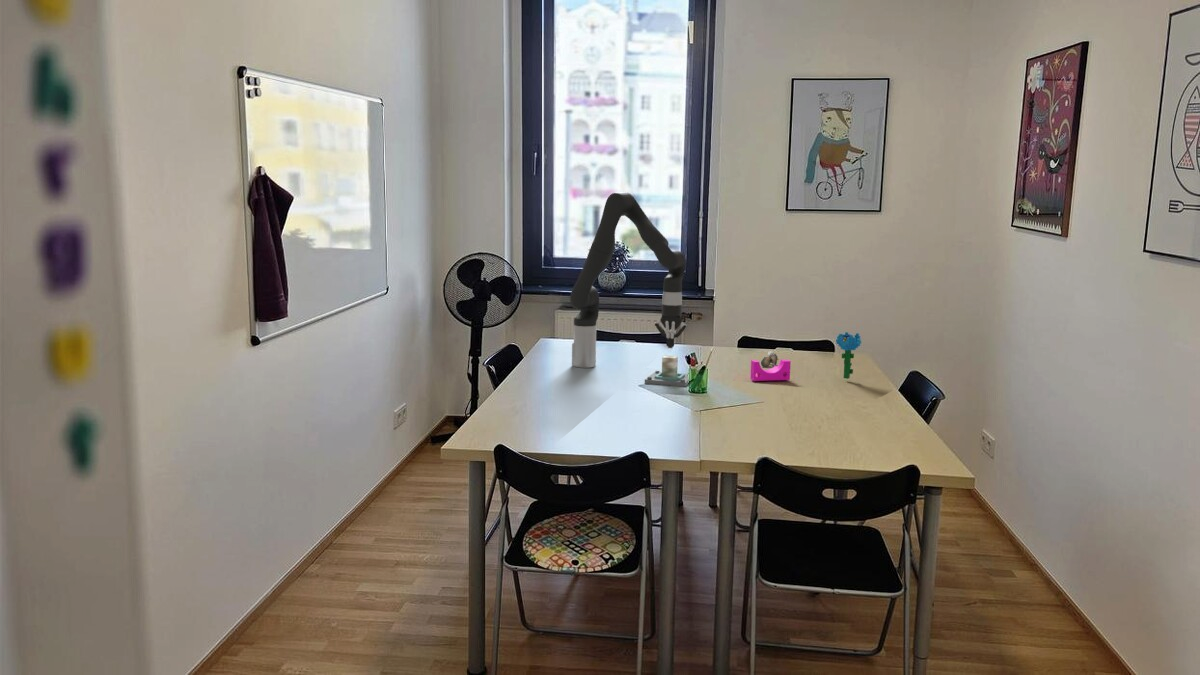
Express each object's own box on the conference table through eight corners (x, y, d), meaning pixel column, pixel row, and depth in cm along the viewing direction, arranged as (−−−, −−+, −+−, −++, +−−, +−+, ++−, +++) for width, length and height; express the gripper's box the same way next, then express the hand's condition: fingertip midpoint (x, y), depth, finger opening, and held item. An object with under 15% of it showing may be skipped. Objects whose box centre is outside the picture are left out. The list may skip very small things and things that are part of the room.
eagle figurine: (772, 371, 386) (767, 373, 378) (761, 359, 388) (755, 360, 380) (785, 359, 384) (780, 361, 376) (774, 347, 386) (768, 348, 378)
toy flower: (831, 378, 359) (833, 333, 357) (840, 374, 367) (842, 331, 364) (853, 381, 354) (855, 336, 351) (861, 377, 361) (864, 333, 358)
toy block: (783, 376, 362) (784, 358, 361) (789, 379, 356) (790, 361, 355) (748, 377, 360) (748, 359, 359) (753, 380, 354) (754, 362, 352)
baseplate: (644, 383, 345) (644, 377, 344) (654, 375, 360) (654, 370, 360) (685, 386, 340) (685, 380, 340) (694, 378, 355) (694, 372, 355)
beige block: (661, 377, 348) (662, 357, 347) (664, 375, 353) (665, 355, 352) (674, 378, 347) (674, 358, 345) (677, 376, 351) (677, 356, 350)
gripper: (652, 303, 344) (651, 348, 346) (686, 305, 340) (685, 350, 343) (657, 301, 351) (656, 345, 354) (690, 303, 347) (689, 347, 350)
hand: (670, 347), depth 348 cm, fingers closed
